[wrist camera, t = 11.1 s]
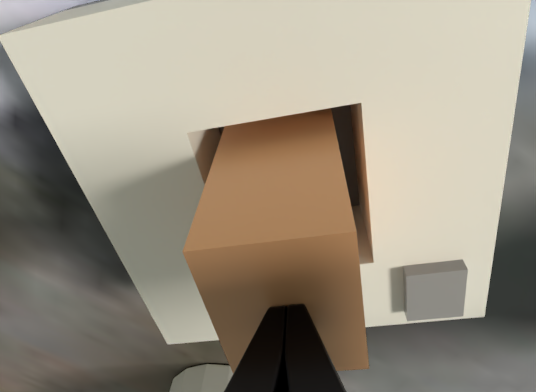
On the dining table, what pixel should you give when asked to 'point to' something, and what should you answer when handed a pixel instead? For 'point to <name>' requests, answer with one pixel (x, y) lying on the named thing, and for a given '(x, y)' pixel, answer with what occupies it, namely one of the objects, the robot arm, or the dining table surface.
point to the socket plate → (282, 104)
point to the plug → (279, 235)
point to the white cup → (202, 379)
